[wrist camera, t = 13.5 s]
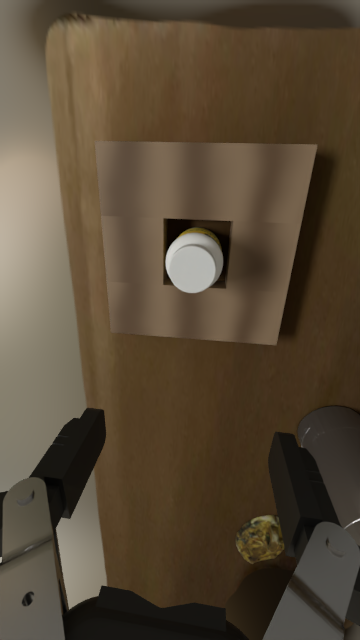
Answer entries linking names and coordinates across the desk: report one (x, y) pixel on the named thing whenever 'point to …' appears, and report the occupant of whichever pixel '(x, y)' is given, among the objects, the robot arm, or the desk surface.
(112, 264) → the socket board
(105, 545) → the desk surface
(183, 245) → the supplement bottle
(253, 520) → the noodle cake
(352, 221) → the desk surface
